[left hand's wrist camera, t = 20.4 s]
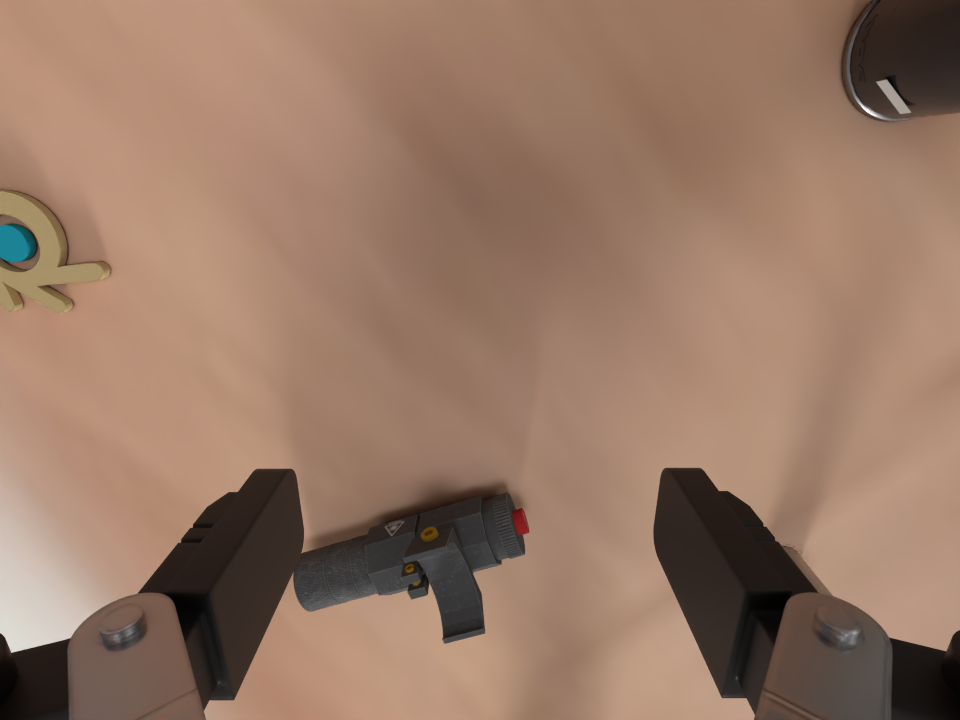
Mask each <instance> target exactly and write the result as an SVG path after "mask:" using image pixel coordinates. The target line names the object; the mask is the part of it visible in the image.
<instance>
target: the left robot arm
mask: <svg viewBox="0 0 960 720" xmlns="http://www.w3.org/2000/svg"><path fill="white" fill-rule="evenodd" d="M842 75H843V82H844V86H845V89H846V92H847V94H848V96H849V98H850V100H851V101H852V103H853V104H854V105H855V107H856V108H857V109H858V110H859V111H861V112H862V113H863V114H865V115H866V116H868V117H870V118H873V119H876V120H880V121H887V122H894V121H903V120H909V119H914V118H917V117H925V116H935V115H944V114H952V113H960V0H873V1H872V2H871V3H870V4H869V5H868V6H867V7H866V8H865V10H864V11H863V12H862V13H861V15H860V16H859V18H858V19H857V21H856V23H855V24H854V26H853V28H852V30H851V32H850V34H849V37H848V40H847V42H846V46H845V50H844V54H843V62H842ZM653 533H654V545H655V550H656V553H657V556H658V559H659V561H660V563H661V565H662V568H663V570H664V572H665V574H666V576H667V579H668V581H669V583H670V585H671V587H672V589H673V592H674V594H675V596H676V598H677V600H678V603H679V605H680V607H681V609H682V611H683V614H684V616H685V618H686V620H687V622H688V625H689V627H690V629H691V631H692V633H693V635H694V638H695V640H696V642H697V644H698V646H699V649H700V651H701V653H702V655H703V657H704V660H705V662H706V664H707V666H708V668H709V671H710V673H711V675H712V677H713V679H714V681H715V684H716V686H717V688H718V690H719V692H720V695H721V697H722V698H747V700H748V702H749V704H750V706H751V708H752V710H753V712H754V714H755V718H754V720H960V630H959V631H957V632H956V633H955V634H954V635H953V637H952V639H951V642H950V644H949V647H948V649H947V651H942V650H938V649H934V648H930V647H925V646H921V645H917V644H913V643H909V642H905V641H901V640H897V639H892V638H889V637H888V635H887V634H886V632H885V631H884V630H883V628H882V627H881V626H880V625H879V624H878V623H877V622H876V621H875V620H874V619H873V618H872V617H870V616H869V615H868V614H867V613H865V612H864V611H862V610H861V609H859V608H857V607H856V606H854V605H852V604H850V603H848V602H846V601H844V600H841V599H839V598H836V597H833V596H829V595H825V594H820V593H818V591H817V590H816V589H815V588H814V586H813V585H812V584H811V583H810V581H809V580H808V579H807V578H806V576H805V575H804V574H803V573H802V571H801V570H800V569H799V567H798V566H797V565H796V564H795V562H794V561H793V560H792V559H791V557H790V556H789V555H788V554H787V552H786V551H785V550H784V549H783V547H782V546H781V545H780V544H779V542H775V537H774V536H773V535H772V534H771V532H770V531H769V530H768V529H767V527H764V526H763V522H762V521H761V520H760V519H759V517H758V516H757V515H756V514H755V512H754V511H753V510H752V509H751V507H750V506H749V505H747V504H746V503H744V502H743V501H741V500H740V499H739V498H737V497H736V496H734V495H733V494H731V493H730V492H728V491H718V489H717V488H716V487H715V485H714V484H713V483H712V481H711V480H710V478H709V477H708V476H707V474H706V473H705V472H704V471H703V470H702V469H701V468H665V469H664V470H663V471H662V474H661V478H660V485H659V492H658V499H657V507H656V514H655V521H654V532H653ZM303 541H304V527H303V520H302V512H301V505H300V498H299V491H298V484H297V478H296V474H295V472H294V470H293V469H256V470H254V471H253V473H252V474H251V475H250V477H249V478H248V479H247V481H246V482H245V483H244V485H243V486H242V487H241V489H240V490H239V491H238V492H229V493H227V494H226V495H224V496H223V497H221V498H220V499H218V500H217V501H215V502H214V503H212V504H211V505H210V506H208V507H207V508H206V509H205V510H204V512H203V513H202V514H201V515H200V517H199V518H198V519H197V520H196V522H195V523H194V524H193V528H190V529H189V530H188V532H187V533H186V534H185V535H184V537H183V538H182V539H181V543H178V544H177V545H176V546H175V548H174V549H173V550H172V551H171V553H170V554H169V555H168V556H167V558H166V559H165V560H164V561H163V563H162V564H161V565H160V566H159V568H158V569H157V570H156V571H155V573H154V574H153V575H152V576H151V578H150V579H149V580H148V581H147V583H146V584H145V585H144V586H143V588H142V589H141V590H140V591H139V592H138V594H135V595H131V596H127V597H124V598H121V599H119V600H116V601H114V602H112V603H110V604H108V605H106V606H104V607H103V608H101V609H99V610H98V611H96V612H95V613H93V614H92V615H91V616H90V617H88V618H87V619H86V620H85V621H84V622H83V623H82V624H81V625H80V626H79V627H78V628H77V630H76V631H75V632H74V634H73V635H72V637H71V638H70V639H66V640H63V641H59V642H55V643H51V644H46V645H42V646H38V647H34V648H30V649H26V650H22V651H18V652H13V653H11V651H10V649H9V646H8V644H7V642H6V639H5V637H4V636H3V635H2V634H0V720H206V718H205V714H204V710H205V708H206V706H207V704H208V702H209V700H234V699H235V697H236V695H237V693H238V690H239V688H240V686H241V684H242V682H243V680H244V677H245V675H246V673H247V671H248V669H249V667H250V664H251V662H252V660H253V658H254V656H255V654H256V651H257V649H258V647H259V645H260V643H261V641H262V638H263V636H264V634H265V632H266V630H267V628H268V625H269V623H270V621H271V619H272V617H273V615H274V612H275V610H276V608H277V606H278V604H279V602H280V600H281V597H282V595H283V593H284V591H285V589H286V587H287V584H288V582H289V580H290V578H291V576H292V574H293V571H294V569H295V567H296V565H297V563H298V561H299V558H300V555H301V552H302V548H303Z"/></svg>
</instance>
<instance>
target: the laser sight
mask: <svg viewBox="0 0 960 720" xmlns="http://www.w3.org/2000/svg"><path fill="white" fill-rule="evenodd" d="M526 533H529V527H528V522H527V519H526V516H525V513H524V510H523V509H522V508H521V509H518V510H516V509H515V506H514V504H513V501H512V499H511V497H510V495H509V494H508V493H504V494H500V495H497V496H494V497H493V498H491V499H488V500H486V499H484V498H483V497H481V496H478V497H475V498H471V499H468V500H465V501H461V502H458V503H454V504H451V505H447V506H444V507H440V508H437V509H433V510H430V511H427V512H423V513H420V514H416V515H413V516H409V517H406V518H402V519H399V520H396V521H392V522H389V523H385V524H382V525H378V526H375V527H371V528H370V529H369V532H368V534H367V535H364V536H360V537H356V538H353V539H350V540H346V541H343V542H339V543H335V544H332V545H329V546H326V547H322V548H319V549H315V550H312V551H308V552H304V553H302V554H301V555H300V558H299V561H298V563H297V565H296V567H295V569H294V573H293V581H294V588H295V593H296V596H297V599H298V601H299V603H300V604H301V606H302V607H303V608H304V609H305V610H307V611H309V612H312V611H315V610H319V609H322V608H326V607H329V606H333V605H337V604H341V603H345V602H348V601H351V600H355V599H359V598H363V597H367V596H370V595H373V594H377V593H378V595H392V594H395V593H399V592H403V591H406V590H408V594H409V596H410V598H411V599H415V598H419V597H422V596H426V595H428V588H429V584H431V587H432V589H433V592H434V595H435V597H436V600H437V604H438V607H439V611H440V614H441V621H442V627H443V638H442V640H443V642H444V644H446V643H450V642H454V641H457V640H461V639H465V638H469V637H473V636H477V635H481V634H485V626H484V615H483V604H482V594H481V591H480V589H479V587H478V585H477V582H476V580H475V578H474V575H473V572H476V571H480V570H483V569H487V568H491V567H494V566H498V565H502V563H501V560H502V559H506V558H510V559H511V558H514V557H518V556H522V555H525V545H524V538H523V534H526Z"/></svg>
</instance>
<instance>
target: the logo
mask: <svg viewBox="0 0 960 720" xmlns="http://www.w3.org/2000/svg"><path fill="white" fill-rule="evenodd" d="M2 214H5V215H10V216H13V217H15V218H17V219H19V220H21V221H22V222H24V223H25V224H26V225H27V226H28V227H29V228H30V229H31V230H32V231H33V233H34V234H35V236H36V238H37V240H38V242H39V246H40V258H39V261H38V263H37V264H36V266H35V267H34V268H32V269H31V270H20V269H17V268H14V267H12V266H10V265H9V264H7V263H6V262H5V261H3V260H2V259H4V260H6V261H9V262H19V261H24V260H28V259H30V258H32V257H33V255H34V254H35V251H36V243H35V240H34V238H33V236H32V234H31V233H30V232H29V231H28V230H27V229H26V228H24V227H22V226H20V225H17V224H7V225H0V257H1V258H2V259H1V258H0V304H1V306H2V307H3V308H4V309H5V310H7V311H15V310H18V309H21V308H22V307H23V302H22V300H21V298H20V296H19V294H18V292H17V291H19V292H21V293H23V294H24V295H26V296H28V297H30V298H31V299H33V300H35V301H37V302H38V303H40V304H42V305H44V306H45V307H47V308H49V309H51V310H53V311H54V312H56V313H63V312H66V311H69V310H71V309H72V306H73V303H72V301H71V300H70V299H69V298H67V297H65V296H64V295H62V294H60V293H58V292H57V291H55V290H53V289H51V288H50V287H48V286H46V285H52V284H65V283H79V282H89V281H96V280H100V279H103V278H106V277H108V276H109V274H110V267H109V266H108V265H107V264H106V263H104V262H88V263H79V264H72V265H66V266H65V263H66V259H67V242H66V237H65V234H64V231H63V229H62V227H61V225H60V223H59V222H58V220H57V219H56V217H55V216H54V215H53V213H52V212H51V211H50V210H49V209H48V208H47V207H45V206H44V205H43V204H42V203H40V202H39V201H37V200H36V199H34V198H32V197H31V196H28V195H26V194H23V193H20V192H15V191H6V190H0V215H2Z"/></svg>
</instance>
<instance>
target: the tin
mask: <svg viewBox="0 0 960 720" xmlns="http://www.w3.org/2000/svg"><path fill="white" fill-rule="evenodd" d="M783 549H784V550H785V551H786V552H787V554H788V555H789V556H790V557H791V559H792V560H793V561H794V562H795V564H796V565H797V566H798V567H799V569H800V570H801V571H802V573H803V574H804V575H805V576H806V578H807V579H808V580H809V581H810V583H811V584H812V585H813V586H814V588H815V589H816V590H817V591H818V593H820V594H825V595H829V596H833V595H832V594H831V593H830V592H829V590H828V589H827V588H826V587H825V585H824V584H823V583H822V582H821V581H820V579H819V578H818V577H817V576H816V575H815V573H814V572H813V571H812V570H811V568H810V567H809V566H808V565H807V564H806V562H805V561H804V560H803V559H802V558H801V556H800V555H799V554H798V553H797V552H796V551H795V550H794V549H792V548H790V547H783ZM833 597H834V596H833Z"/></svg>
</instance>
